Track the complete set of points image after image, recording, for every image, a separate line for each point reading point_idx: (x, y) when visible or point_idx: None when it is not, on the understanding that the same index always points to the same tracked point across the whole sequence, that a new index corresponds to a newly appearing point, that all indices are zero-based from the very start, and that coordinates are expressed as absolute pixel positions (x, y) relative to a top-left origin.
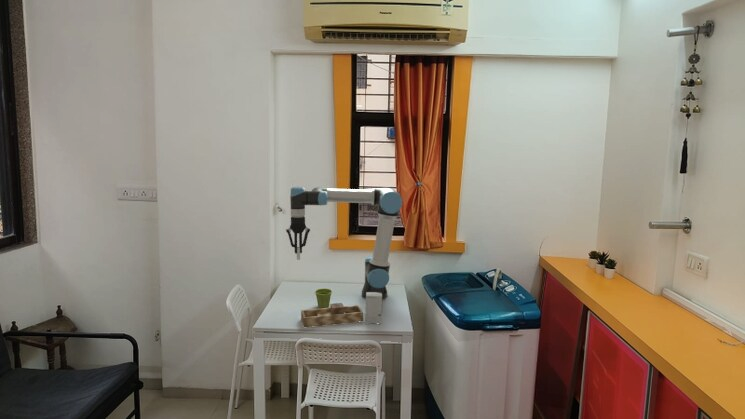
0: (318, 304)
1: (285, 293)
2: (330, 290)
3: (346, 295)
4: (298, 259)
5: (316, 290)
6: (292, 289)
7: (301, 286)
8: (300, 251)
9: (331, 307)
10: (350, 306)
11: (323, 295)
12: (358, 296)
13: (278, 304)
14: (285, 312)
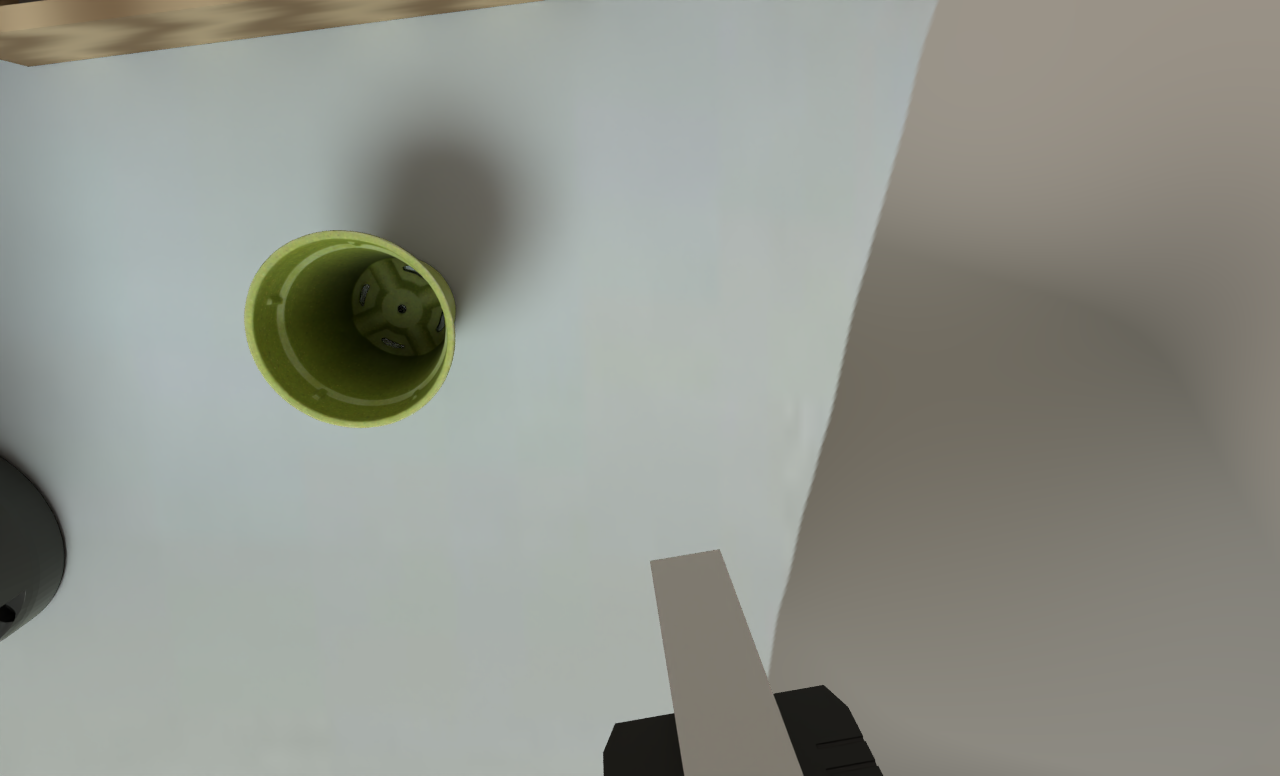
0: (442, 282)
1: None
2: (272, 369)
3: (212, 544)
4: (691, 557)
5: (437, 377)
6: None
7: None
8: (659, 770)
9: None
10: (25, 9)
11: (347, 237)
12: (93, 516)
13: (798, 384)
14: (741, 196)
